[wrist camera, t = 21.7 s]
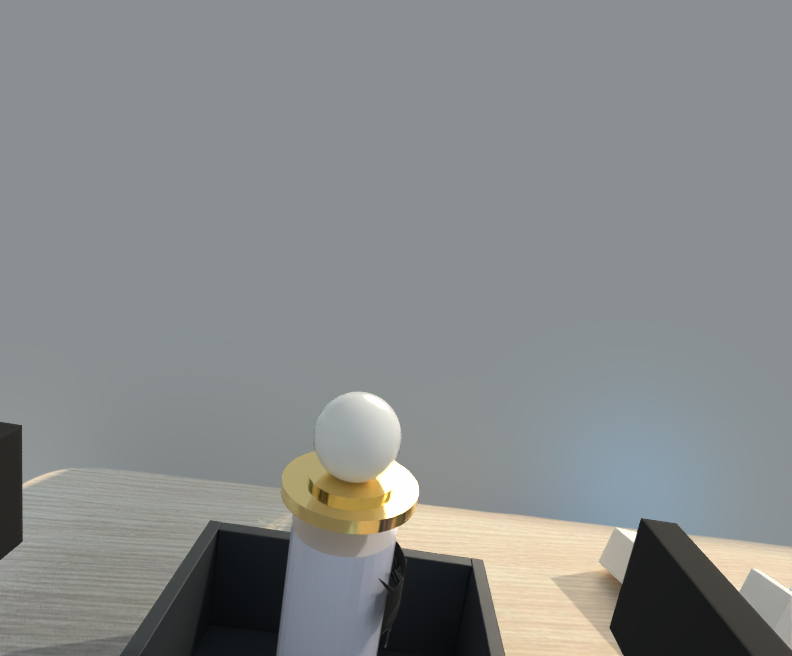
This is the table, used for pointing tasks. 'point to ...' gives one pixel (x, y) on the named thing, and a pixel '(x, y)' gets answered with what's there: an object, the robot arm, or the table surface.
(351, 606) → the perfume bottle
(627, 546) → the bracket
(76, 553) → the table surface
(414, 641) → the bin
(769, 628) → the robot arm
